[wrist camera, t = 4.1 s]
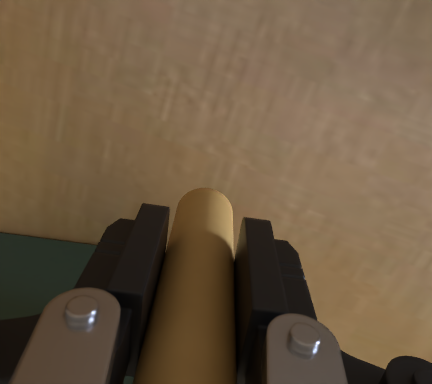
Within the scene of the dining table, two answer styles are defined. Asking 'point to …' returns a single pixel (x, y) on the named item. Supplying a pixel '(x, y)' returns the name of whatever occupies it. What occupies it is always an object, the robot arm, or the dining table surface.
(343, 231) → the dining table surface
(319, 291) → the dining table surface
